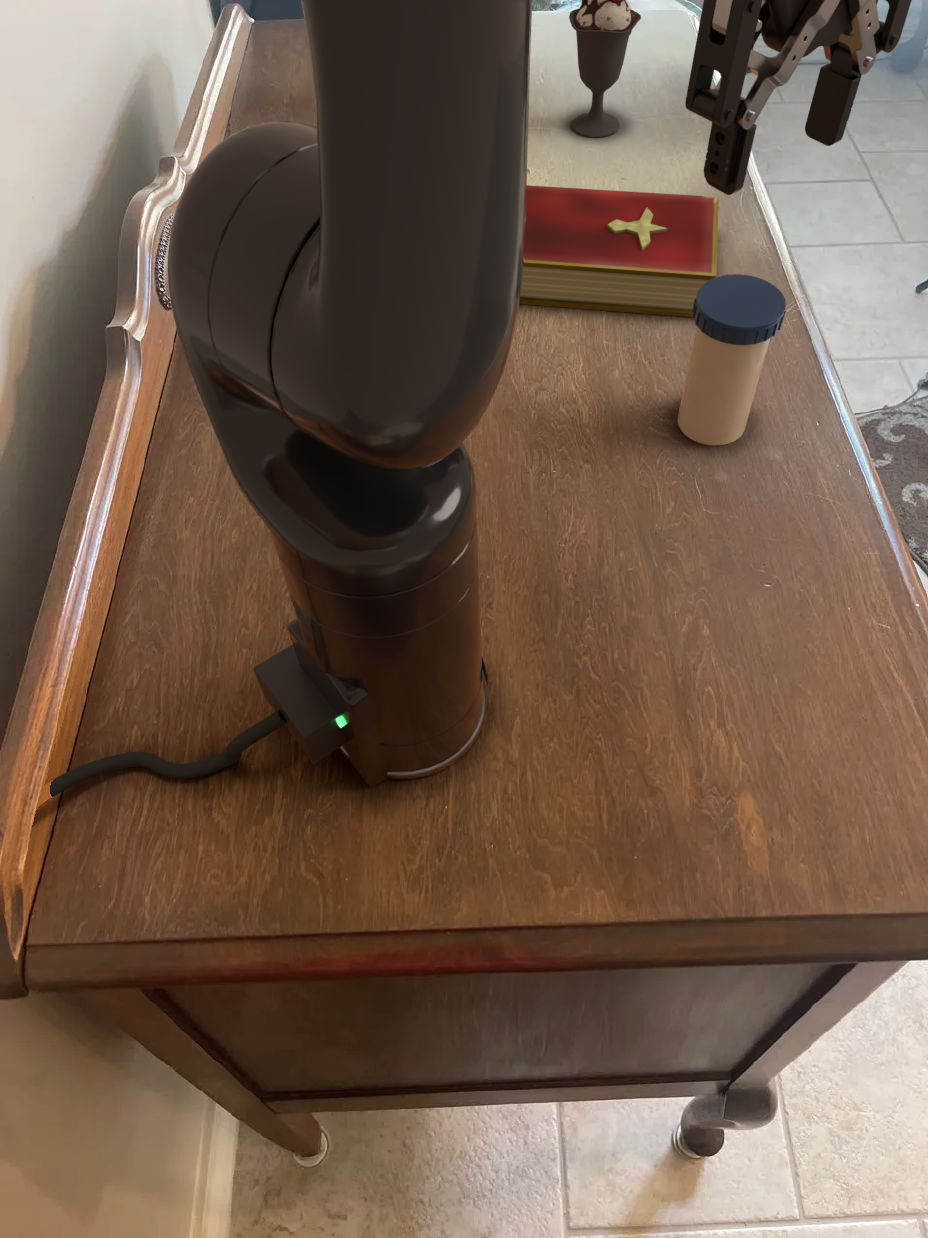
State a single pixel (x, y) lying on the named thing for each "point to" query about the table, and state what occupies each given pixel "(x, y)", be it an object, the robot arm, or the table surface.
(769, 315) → the jar lid
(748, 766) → the table surface
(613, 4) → the sundae
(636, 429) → the table surface
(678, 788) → the table surface
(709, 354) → the jar
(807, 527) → the table surface
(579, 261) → the hardcover book
